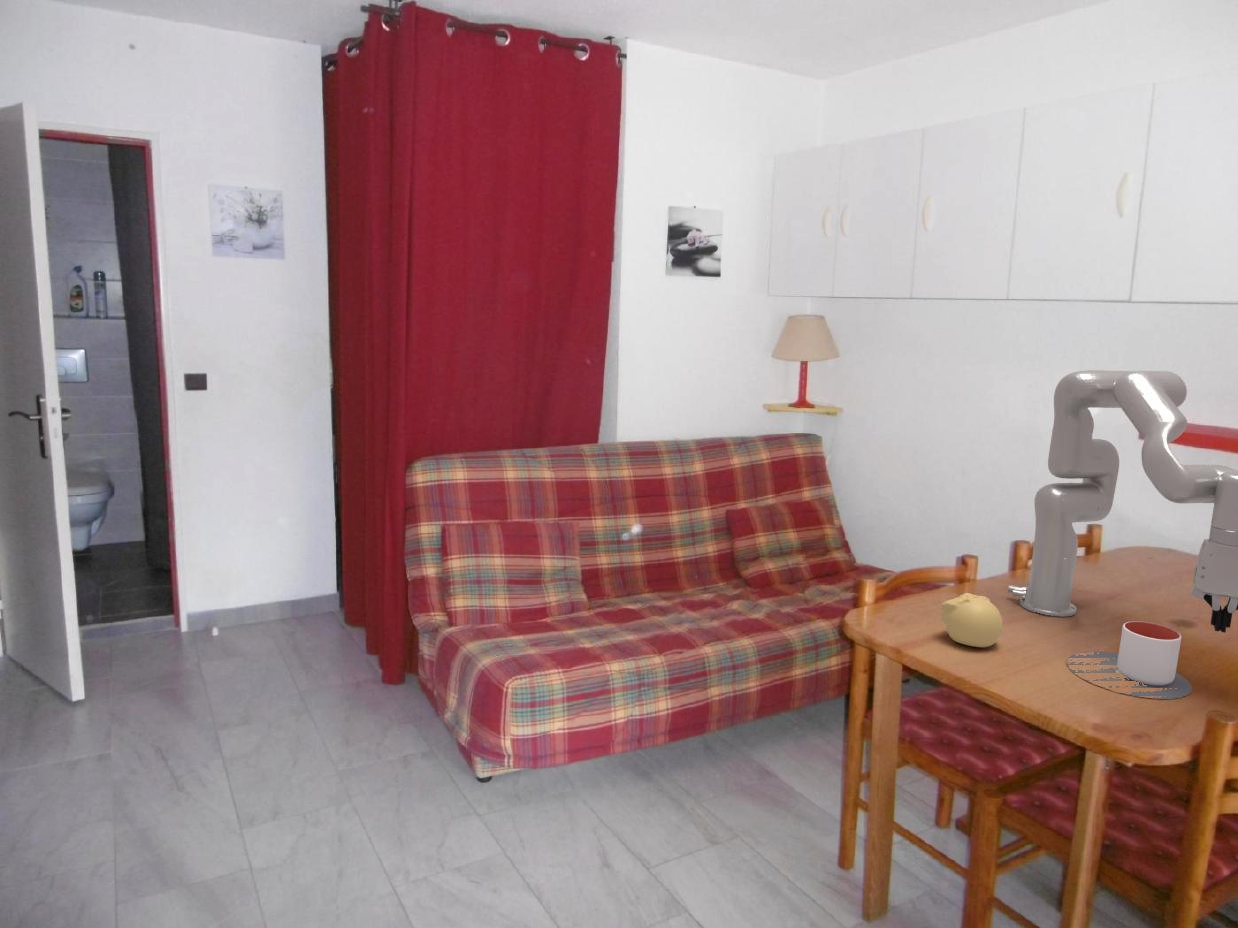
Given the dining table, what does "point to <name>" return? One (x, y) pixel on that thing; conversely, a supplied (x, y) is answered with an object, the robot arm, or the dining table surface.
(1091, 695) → the dining table surface
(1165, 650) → the cup
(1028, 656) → the dining table surface
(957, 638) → the sculpture
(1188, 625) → the dining table surface
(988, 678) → the dining table surface
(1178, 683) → the mat
